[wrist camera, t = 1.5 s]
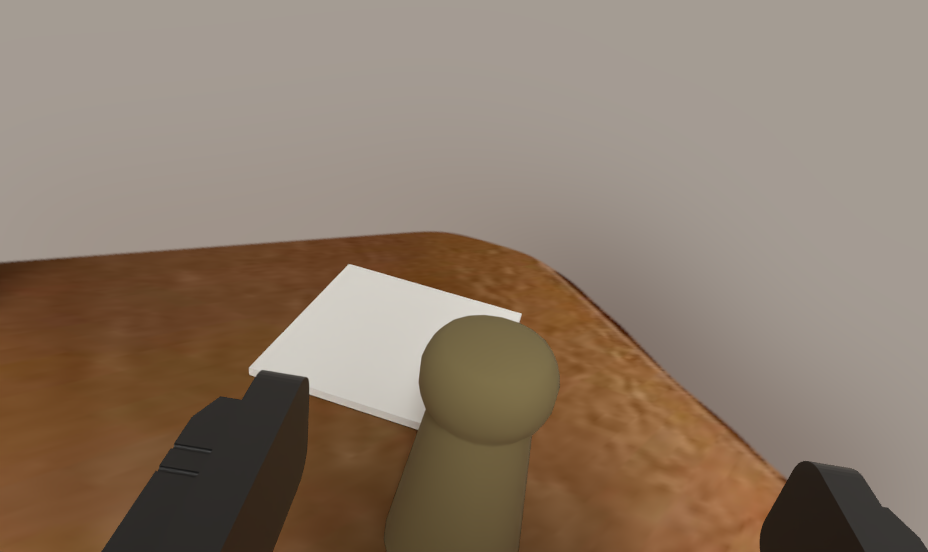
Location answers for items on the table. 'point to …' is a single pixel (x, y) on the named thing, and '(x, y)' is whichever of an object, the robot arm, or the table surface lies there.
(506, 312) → the white mat
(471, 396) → the cork
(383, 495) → the table surface
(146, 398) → the table surface
